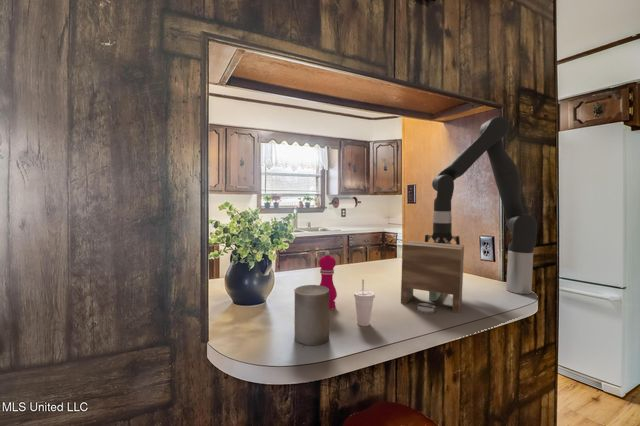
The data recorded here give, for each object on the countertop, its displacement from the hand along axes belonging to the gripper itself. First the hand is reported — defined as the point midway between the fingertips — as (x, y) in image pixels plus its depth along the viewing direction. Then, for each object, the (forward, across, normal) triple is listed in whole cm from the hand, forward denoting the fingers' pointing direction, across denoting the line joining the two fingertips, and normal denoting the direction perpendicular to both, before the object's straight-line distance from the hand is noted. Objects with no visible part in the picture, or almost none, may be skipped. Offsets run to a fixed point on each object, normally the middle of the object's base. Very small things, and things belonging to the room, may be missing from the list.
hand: (441, 259), depth 141 cm
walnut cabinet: (+13, +1, +22) cm, 25 cm away
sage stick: (+13, 0, +7) cm, 15 cm away
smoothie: (+12, +16, +54) cm, 58 cm away
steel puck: (+13, +1, +32) cm, 34 cm away
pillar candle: (+12, +25, +71) cm, 76 cm away
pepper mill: (+12, +33, +46) cm, 58 cm away
